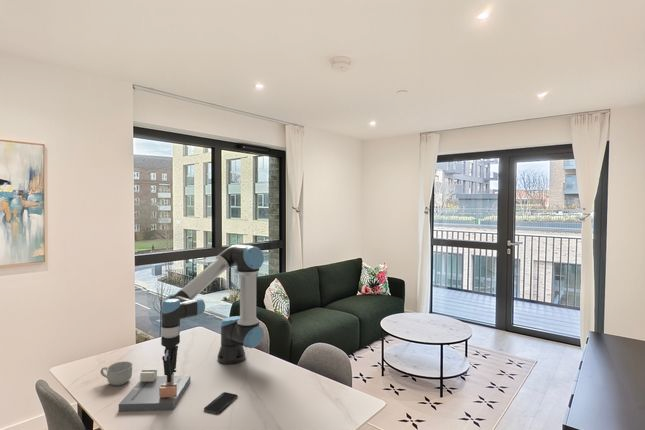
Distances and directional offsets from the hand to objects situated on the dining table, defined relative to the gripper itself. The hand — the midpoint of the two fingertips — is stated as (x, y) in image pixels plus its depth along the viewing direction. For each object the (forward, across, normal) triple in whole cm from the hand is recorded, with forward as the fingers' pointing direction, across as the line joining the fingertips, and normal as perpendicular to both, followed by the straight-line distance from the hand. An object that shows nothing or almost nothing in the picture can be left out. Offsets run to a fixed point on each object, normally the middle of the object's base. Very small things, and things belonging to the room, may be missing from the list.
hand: (170, 388), depth 156 cm
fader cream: (+2, -12, -14) cm, 18 cm away
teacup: (+5, -17, -31) cm, 35 cm away
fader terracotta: (+2, +3, 0) cm, 3 cm away
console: (+5, -4, -7) cm, 9 cm away
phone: (+6, +4, +23) cm, 24 cm away
